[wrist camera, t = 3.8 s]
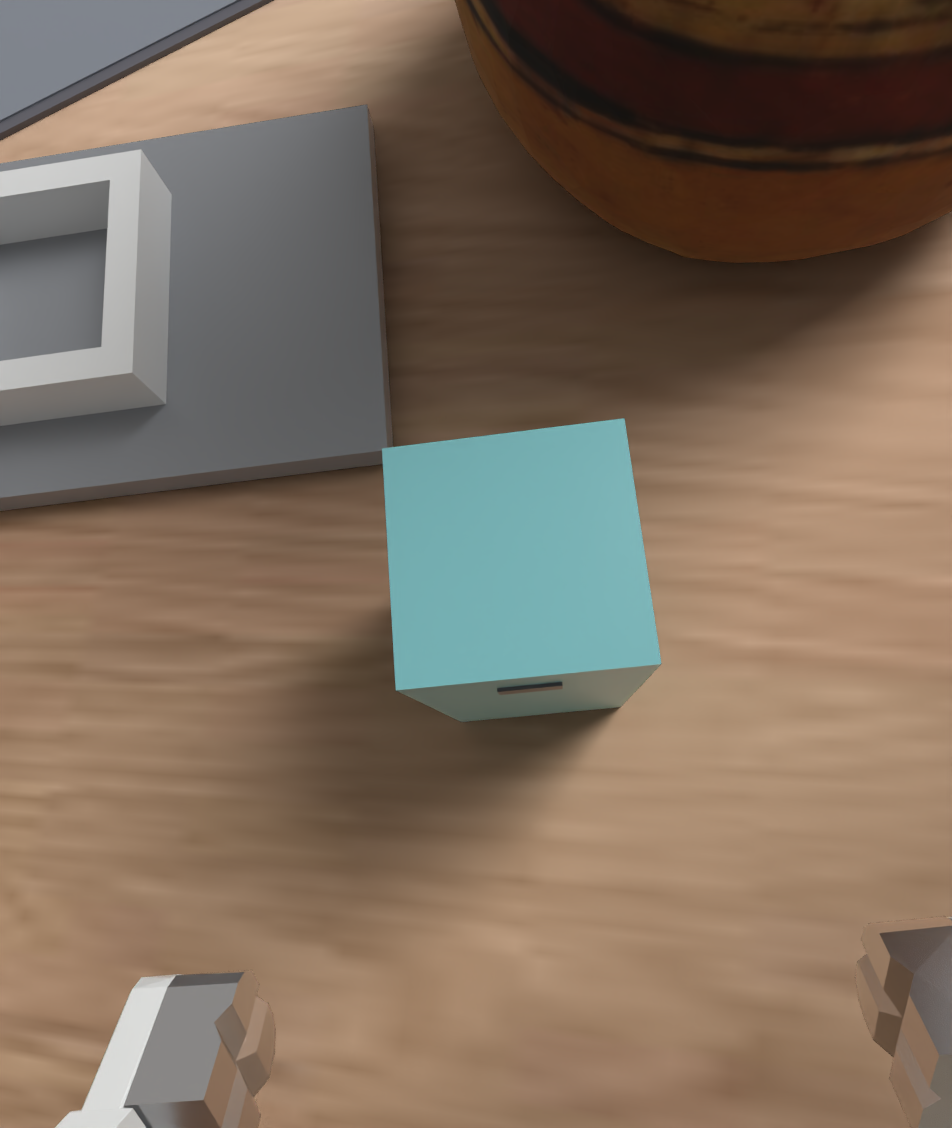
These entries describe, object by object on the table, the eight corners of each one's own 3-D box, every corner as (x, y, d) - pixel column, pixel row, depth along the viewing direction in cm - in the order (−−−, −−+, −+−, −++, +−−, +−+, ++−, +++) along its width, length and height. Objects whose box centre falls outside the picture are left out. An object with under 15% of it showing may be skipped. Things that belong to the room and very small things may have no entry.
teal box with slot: (600, 552, 23) (624, 418, 14) (621, 709, 21) (661, 668, 13) (449, 569, 23) (382, 448, 14) (461, 724, 22) (395, 694, 13)
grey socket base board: (373, 127, 27) (352, 52, 25) (394, 462, 24) (371, 420, 21) (-192, 217, 29) (-274, 157, 26) (-249, 541, 26) (-351, 512, 23)
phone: (-84, 56, 32) (-101, 37, 31) (217, -95, 32) (208, -118, 31) (-36, 175, 30) (-53, 158, 29) (284, 12, 30) (276, -9, 29)
